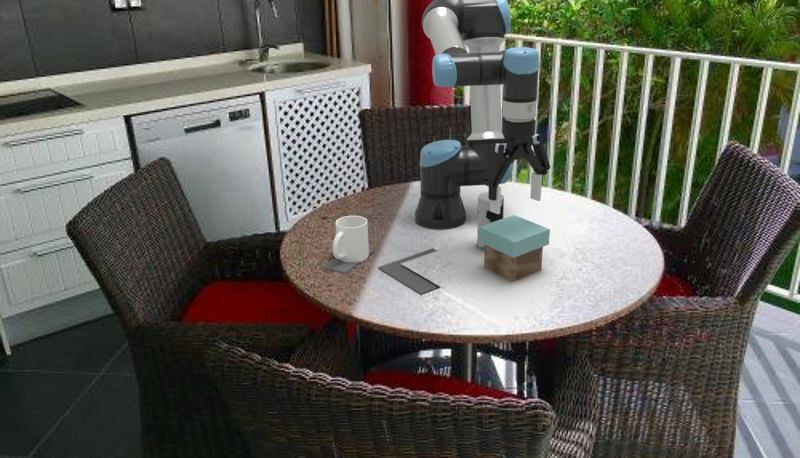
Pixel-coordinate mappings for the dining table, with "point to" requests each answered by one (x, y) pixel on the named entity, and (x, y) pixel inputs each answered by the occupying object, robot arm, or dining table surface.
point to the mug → (351, 239)
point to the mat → (410, 274)
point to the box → (512, 263)
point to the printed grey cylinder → (487, 214)
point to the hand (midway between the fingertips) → (515, 205)
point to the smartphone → (343, 264)
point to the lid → (514, 236)
